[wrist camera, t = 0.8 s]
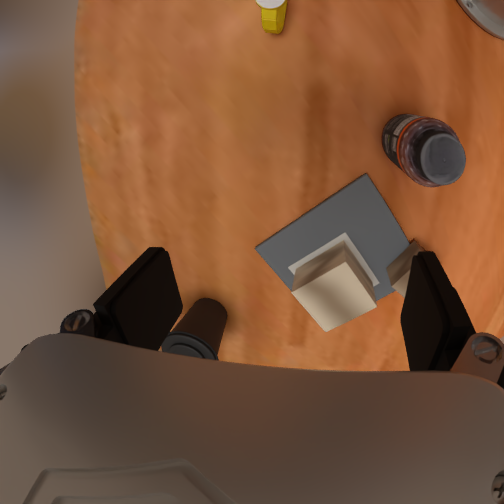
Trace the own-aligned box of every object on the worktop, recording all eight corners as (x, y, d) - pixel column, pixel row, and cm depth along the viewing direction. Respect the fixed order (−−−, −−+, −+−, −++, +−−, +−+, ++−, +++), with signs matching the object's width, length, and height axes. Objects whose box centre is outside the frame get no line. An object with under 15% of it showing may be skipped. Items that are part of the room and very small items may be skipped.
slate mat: (365, 172, 30) (366, 174, 30) (424, 270, 34) (425, 273, 33) (255, 246, 38) (254, 249, 37) (323, 324, 41) (322, 328, 41)
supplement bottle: (438, 155, 27) (484, 184, 18) (393, 174, 30) (423, 210, 20) (418, 105, 25) (462, 110, 16) (371, 124, 28) (396, 137, 18)
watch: (269, -8, 23) (259, -31, 18) (295, -6, 23) (290, -29, 17) (261, 37, 26) (249, 20, 20) (288, 40, 25) (281, 23, 20)
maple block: (343, 240, 34) (345, 261, 30) (372, 282, 36) (377, 306, 31) (295, 268, 37) (291, 292, 33) (326, 306, 39) (325, 332, 35)
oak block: (414, 240, 32) (423, 256, 28) (437, 264, 32) (447, 281, 29) (386, 268, 34) (391, 286, 31) (410, 289, 35) (416, 308, 32)
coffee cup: (227, 339, 47) (207, 387, 38) (181, 318, 47) (154, 362, 38) (243, 304, 43) (223, 355, 34) (191, 281, 43) (161, 327, 34)
